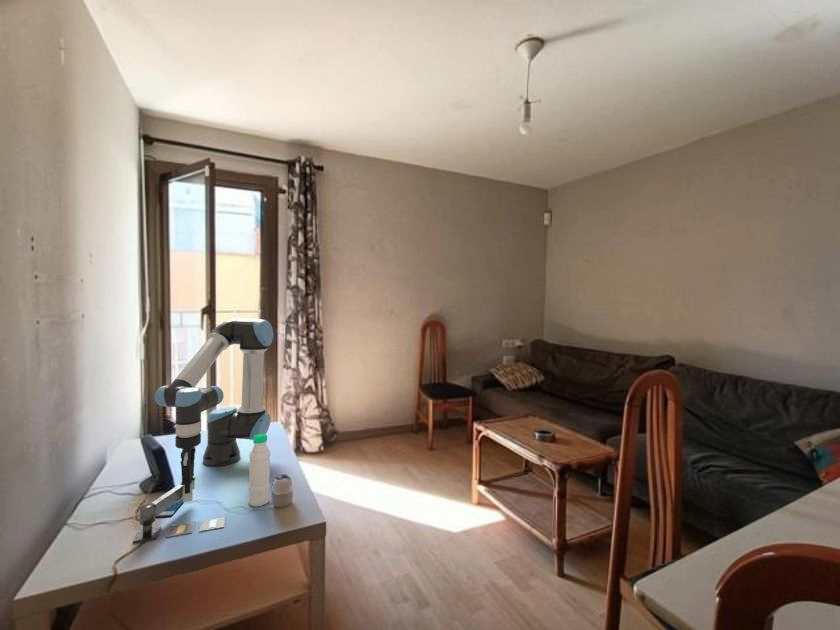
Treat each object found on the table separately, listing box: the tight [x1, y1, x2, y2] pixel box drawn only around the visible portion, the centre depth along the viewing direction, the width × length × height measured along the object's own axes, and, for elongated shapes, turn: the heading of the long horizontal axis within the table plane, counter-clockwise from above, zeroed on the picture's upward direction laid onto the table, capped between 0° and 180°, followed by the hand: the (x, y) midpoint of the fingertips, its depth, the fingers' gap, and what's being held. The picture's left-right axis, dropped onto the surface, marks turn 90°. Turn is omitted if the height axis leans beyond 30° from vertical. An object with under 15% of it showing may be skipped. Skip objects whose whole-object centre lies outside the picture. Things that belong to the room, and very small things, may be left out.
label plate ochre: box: [165, 521, 196, 539], centre depth 123 cm, size 6×7×1 cm
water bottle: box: [248, 433, 271, 507], centre depth 140 cm, size 7×7×25 cm
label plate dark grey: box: [198, 516, 226, 533], centre depth 126 cm, size 6×7×1 cm
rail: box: [139, 479, 196, 526], centre depth 128 cm, size 4×22×5 cm, turn 174°
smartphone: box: [155, 497, 185, 519], centre depth 136 cm, size 7×1×15 cm
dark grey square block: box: [132, 523, 162, 545], centre depth 119 cm, size 6×6×4 cm
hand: (187, 500), depth 133 cm, fingers closed
